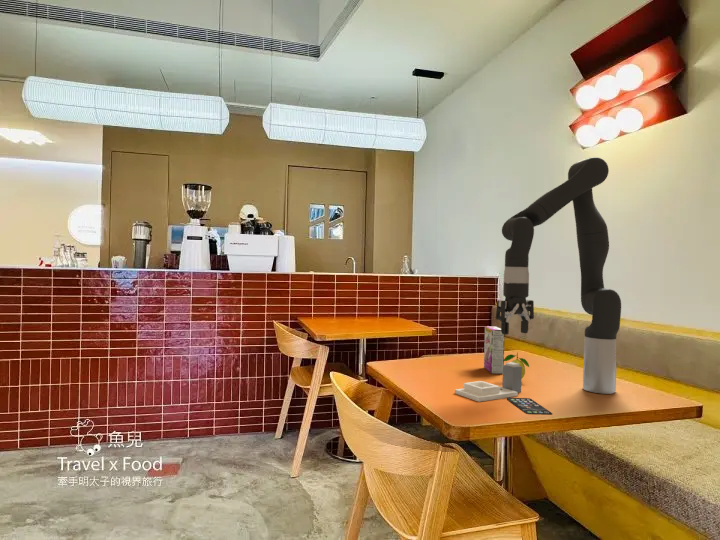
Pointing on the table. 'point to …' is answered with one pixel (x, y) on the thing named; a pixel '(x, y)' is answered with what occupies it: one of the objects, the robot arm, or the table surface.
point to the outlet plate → (484, 391)
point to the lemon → (518, 362)
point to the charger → (512, 376)
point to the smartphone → (529, 406)
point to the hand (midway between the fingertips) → (514, 333)
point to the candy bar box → (494, 350)
